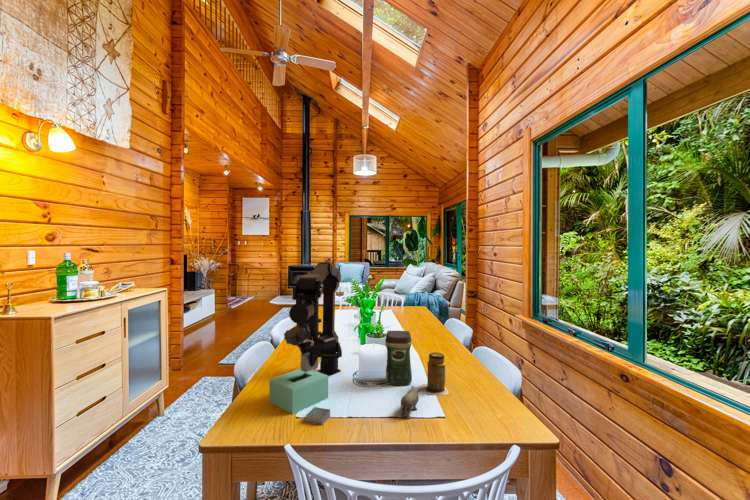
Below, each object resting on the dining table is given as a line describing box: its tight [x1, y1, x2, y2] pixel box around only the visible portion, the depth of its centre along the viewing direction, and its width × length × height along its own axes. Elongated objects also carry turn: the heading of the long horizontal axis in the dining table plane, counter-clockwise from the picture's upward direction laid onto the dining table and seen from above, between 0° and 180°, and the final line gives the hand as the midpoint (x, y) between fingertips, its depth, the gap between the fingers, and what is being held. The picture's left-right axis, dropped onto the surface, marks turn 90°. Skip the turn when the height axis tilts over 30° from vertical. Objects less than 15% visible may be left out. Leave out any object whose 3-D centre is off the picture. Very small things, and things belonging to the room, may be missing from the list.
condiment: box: [423, 351, 450, 396], centre depth 121 cm, size 7×8×12 cm
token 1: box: [300, 352, 319, 372], centre depth 112 cm, size 5×2×5 cm, turn 141°
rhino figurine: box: [400, 385, 422, 420], centre depth 108 cm, size 4×14×6 cm, turn 157°
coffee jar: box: [384, 330, 413, 386], centre depth 128 cm, size 10×8×19 cm
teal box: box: [268, 368, 329, 415], centre depth 113 cm, size 14×12×7 cm
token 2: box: [305, 406, 331, 426], centre depth 101 cm, size 5×5×2 cm
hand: (309, 365), depth 112 cm, fingers closed on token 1, 2 cm apart
